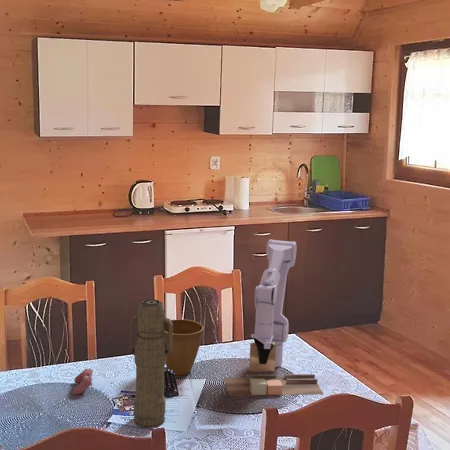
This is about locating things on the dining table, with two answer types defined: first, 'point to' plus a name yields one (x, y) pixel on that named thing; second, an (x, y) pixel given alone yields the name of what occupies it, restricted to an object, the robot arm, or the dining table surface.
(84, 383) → the red curved piece
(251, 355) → the birch sheet
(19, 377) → the dining table surface
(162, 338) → the thermos
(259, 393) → the offcut sage
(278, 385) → the offcut terracotta
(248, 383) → the walnut rack
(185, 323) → the plant pot
